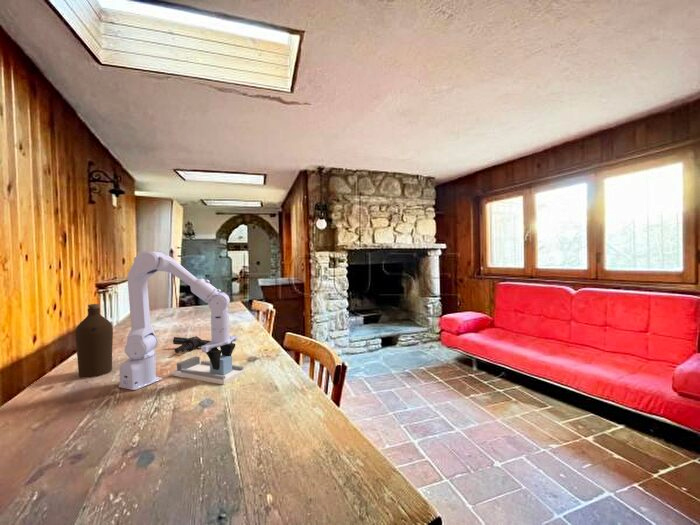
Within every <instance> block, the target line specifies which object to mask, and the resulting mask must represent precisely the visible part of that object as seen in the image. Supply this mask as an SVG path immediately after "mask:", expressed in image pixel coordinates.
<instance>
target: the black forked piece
mask: <svg viewBox="0 0 700 525" xmlns="http://www.w3.org/2000/svg"><path fill="white" fill-rule="evenodd" d="M211 341H212V340H208V339H207V340H206V339H201V338H200V337H198V336H196V335H195V336H192V337H179V336H174V337H173V340H172V344H173V345H179V346H178V347H176V348H174V352H175V353H176V354H178V353H179V352H181V353H184V352H185V351H187V352H189V351H192V350H194V349H197V348H202V346H203V345H205V344H207V343H209V342H211Z"/></svg>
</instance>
